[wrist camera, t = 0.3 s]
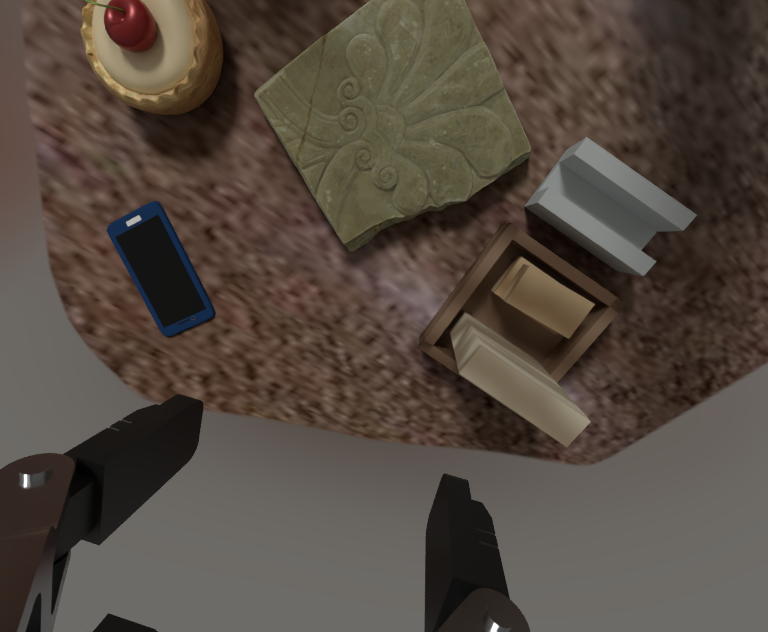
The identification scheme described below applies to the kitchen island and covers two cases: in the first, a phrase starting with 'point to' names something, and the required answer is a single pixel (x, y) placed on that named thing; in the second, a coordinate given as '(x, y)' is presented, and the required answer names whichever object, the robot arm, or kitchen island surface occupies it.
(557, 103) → the kitchen island surface
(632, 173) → the slot stand
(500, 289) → the oak offcut lower
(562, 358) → the wooden tray
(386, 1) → the decorative tile
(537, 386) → the birch sheet
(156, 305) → the cell phone
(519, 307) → the oak offcut upper
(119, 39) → the pastry
